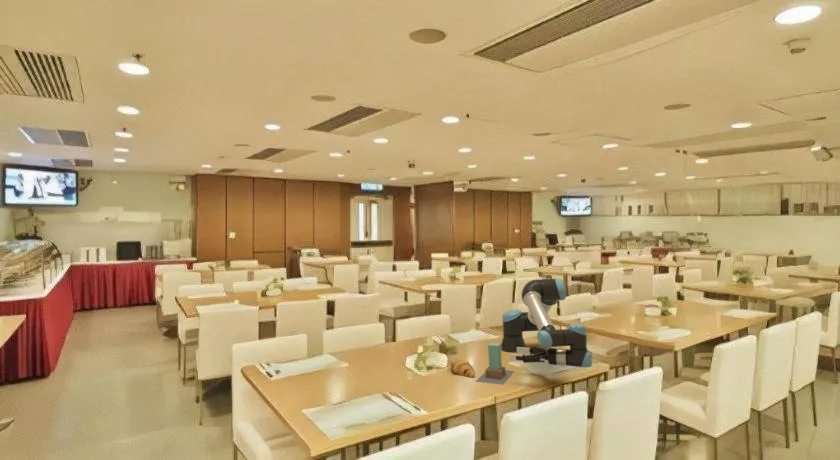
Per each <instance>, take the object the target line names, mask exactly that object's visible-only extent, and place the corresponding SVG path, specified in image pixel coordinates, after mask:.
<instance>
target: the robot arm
mask: <svg viewBox="0 0 840 460" xmlns="http://www.w3.org/2000/svg"><path fill="white" fill-rule="evenodd" d="M566 291H567V289H566V285H565V281H564V280H563V279H561V278H544V279H532V280H530V281H528V282H527V283H526V284H524V286H523V288H522V290H521V300H522V302H523V304H524V305H525V306H526V307H527V308H528V311H527V312H526V311H525V312H522V310H520V309H512V310H508V311H505V312H504V313H503V314H502V331H503V332H502V333H503V334H502V336H503V337H502V341H501V343H500V344H501V351H503V352H509V361H517V362H518V361H519V362H523V363H524V364H526V363H527V364H529V363H545V361H547V363H548V364H549V365H554V366H557V365H558V366H562V367H566V366H568V367H576V368H591V367H592V365H593V352H592V351H591V350H588V347H587V345H588V344H587V342H588V341H587V337H588V336H587V327H586V326H585V325H584V324H581V323H570V324H569V326H568V328H567V329H566V328H565V329H556V328H555V325H554V324H553V323H554V322H553V321H552V320H551V318H550V316H549V314H548V313H549V312H550V310H551V308H552V307H553V306H556V304H557V303H559V301H564V300H566V298H567V292H566ZM523 332H537V336H536V339H537V343H538V345H539V347H536V346H532V347H527V345H526V343H525V339H524V336H523ZM540 347H541V348H540ZM554 347H555V348H554ZM556 347H569V349H567V348H556ZM545 348H548V349H545ZM515 353H517V354H515ZM526 354H528V355H526Z"/></svg>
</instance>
